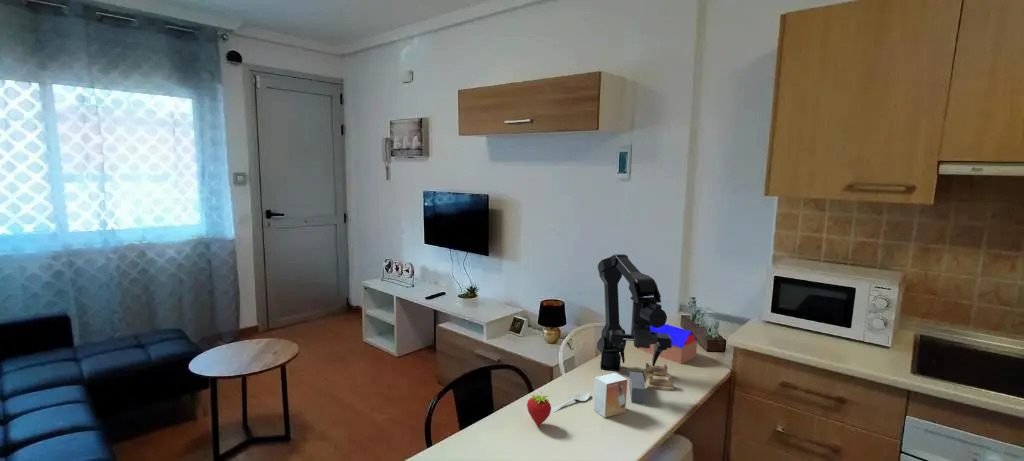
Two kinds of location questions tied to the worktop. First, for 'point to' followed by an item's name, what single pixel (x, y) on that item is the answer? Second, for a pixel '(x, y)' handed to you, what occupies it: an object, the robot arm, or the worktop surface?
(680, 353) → the house
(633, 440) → the worktop surface
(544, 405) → the strawberry
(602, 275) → the robot arm
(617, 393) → the small box
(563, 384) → the worktop surface
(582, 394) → the spoon
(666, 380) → the display stand
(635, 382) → the grey rectangular block
